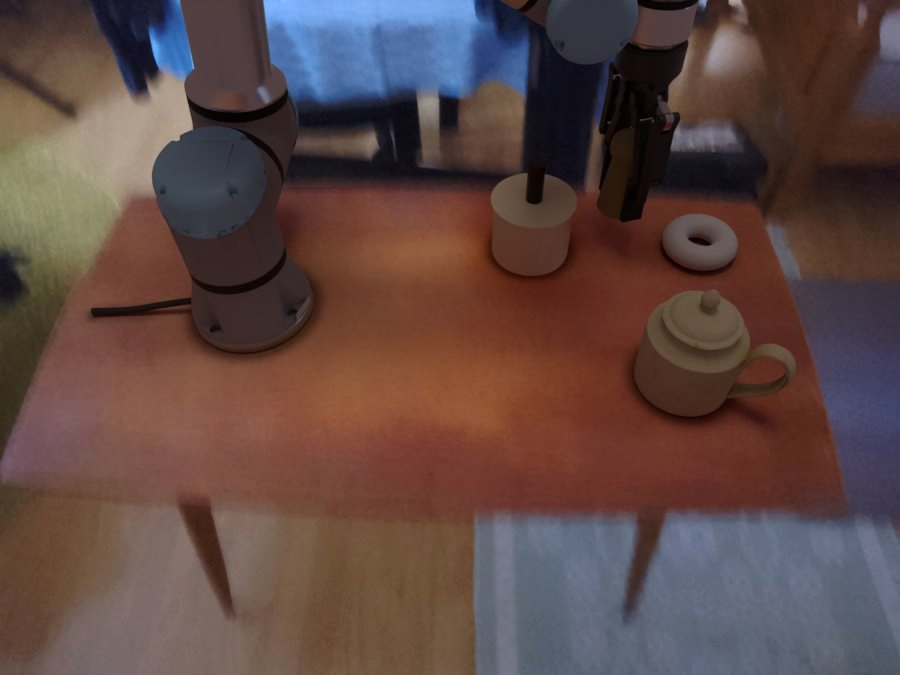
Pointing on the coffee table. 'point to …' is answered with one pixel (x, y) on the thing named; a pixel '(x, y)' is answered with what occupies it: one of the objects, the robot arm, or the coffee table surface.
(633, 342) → the coffee table surface
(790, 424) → the coffee table surface
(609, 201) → the brown pawn
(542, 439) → the coffee table surface
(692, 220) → the donut
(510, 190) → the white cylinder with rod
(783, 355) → the sugar bowl
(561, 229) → the pot
